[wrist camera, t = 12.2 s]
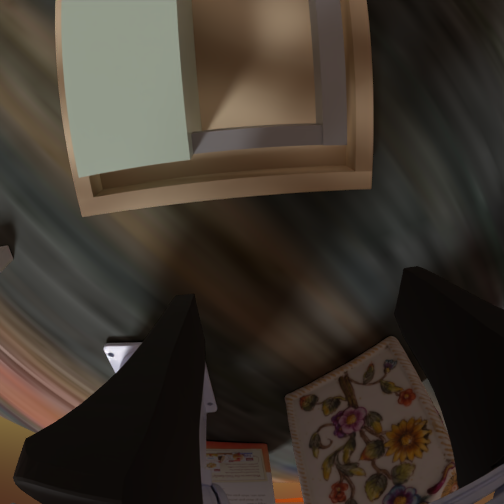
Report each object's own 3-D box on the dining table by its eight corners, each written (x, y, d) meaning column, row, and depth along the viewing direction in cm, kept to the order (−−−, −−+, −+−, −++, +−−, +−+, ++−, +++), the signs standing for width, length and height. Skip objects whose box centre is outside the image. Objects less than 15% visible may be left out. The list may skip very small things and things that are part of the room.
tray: (357, 178, 18) (371, 188, 16) (94, 204, 18) (82, 216, 16) (346, -39, 11) (358, -50, 10) (71, -10, 11) (56, -18, 9)
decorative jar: (422, 383, 29) (483, 514, 13) (334, 431, 32) (368, 565, 16) (392, 328, 24) (486, 515, 8) (279, 393, 27) (311, 580, 11)
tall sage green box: (306, -6, 12) (343, -46, 7) (314, 130, 16) (356, 149, 11) (111, 15, 12) (62, -13, 7) (124, 149, 16) (78, 177, 10)
